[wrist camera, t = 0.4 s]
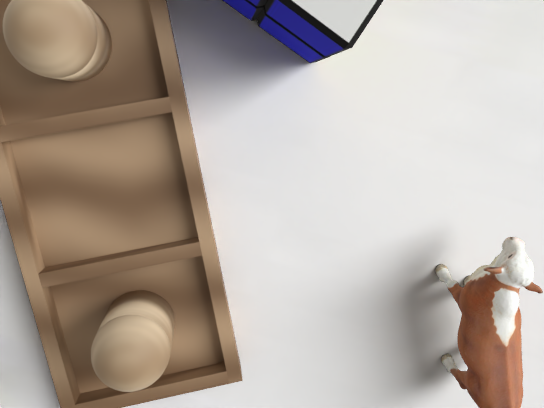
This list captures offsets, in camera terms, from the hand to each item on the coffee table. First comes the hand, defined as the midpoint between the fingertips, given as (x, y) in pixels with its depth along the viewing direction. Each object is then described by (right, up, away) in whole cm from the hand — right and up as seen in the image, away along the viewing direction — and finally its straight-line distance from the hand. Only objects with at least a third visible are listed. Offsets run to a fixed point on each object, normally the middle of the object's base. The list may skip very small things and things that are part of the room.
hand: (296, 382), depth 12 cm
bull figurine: (+14, -4, +29) cm, 33 cm away
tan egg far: (-10, -5, +26) cm, 28 cm away
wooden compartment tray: (-12, +5, +24) cm, 27 cm away
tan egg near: (-14, +15, +22) cm, 30 cm away
